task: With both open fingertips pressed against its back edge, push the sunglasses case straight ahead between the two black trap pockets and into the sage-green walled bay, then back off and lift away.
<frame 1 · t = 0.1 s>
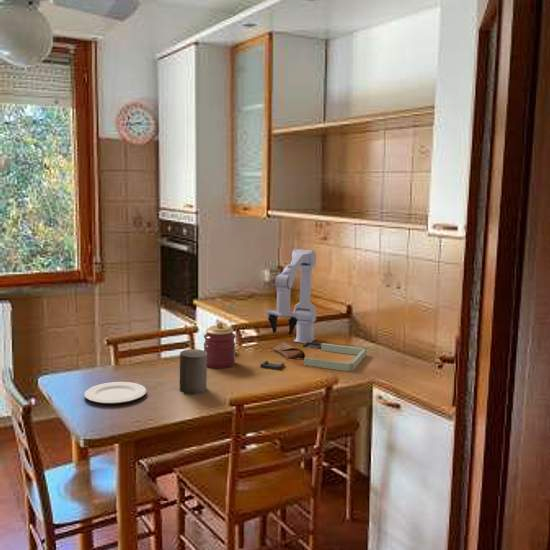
hand: (282, 333, 260), 10 cm above the table, tool pointing down, fingers open, 7 cm apart
rear trap pocket: (313, 346, 277), on the table
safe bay: (335, 360, 258), on the table
pillar candle: (193, 390, 219), on the table
front trap pocket: (272, 366, 247), on the table
sunglasses case: (286, 355, 266), on the table
canister: (219, 364, 249), on the table
plate: (115, 397, 210), on the table
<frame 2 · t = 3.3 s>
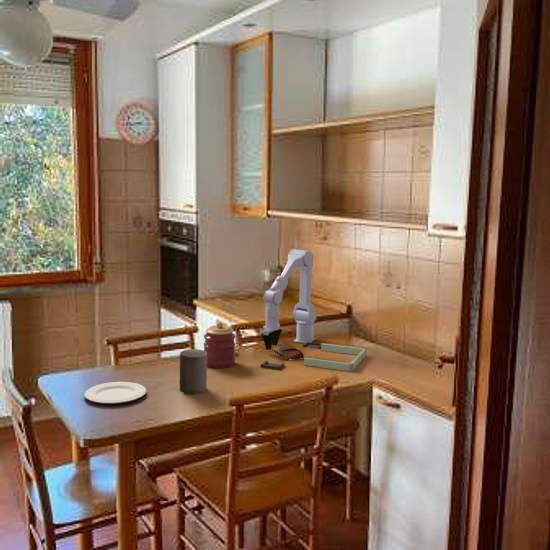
hand: (271, 347, 268), 2 cm above the table, tool pointing down, fingers open, 7 cm apart
sunglasses case: (285, 355, 265), on the table, touching gripper
everything else where it was.
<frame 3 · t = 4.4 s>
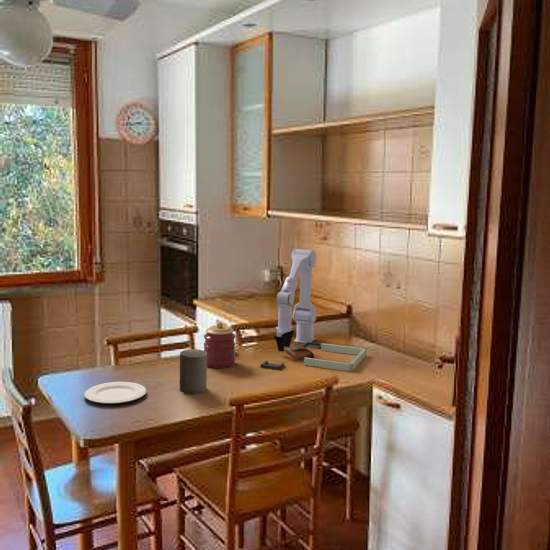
hand: (284, 348, 266), 2 cm above the table, tool pointing down, fingers open, 7 cm apart
sunglasses case: (297, 355, 265), on the table, touching gripper
everything else where it was.
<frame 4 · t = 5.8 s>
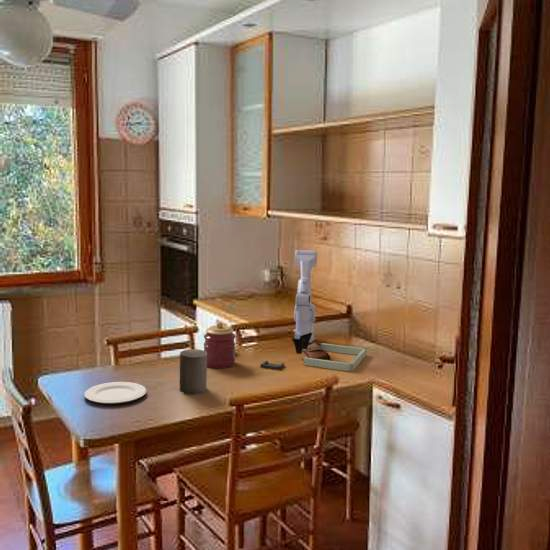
hand: (301, 351, 263), 2 cm above the table, tool pointing down, fingers open, 7 cm apart
sunglasses case: (314, 356, 265), on the table
everything else where it was.
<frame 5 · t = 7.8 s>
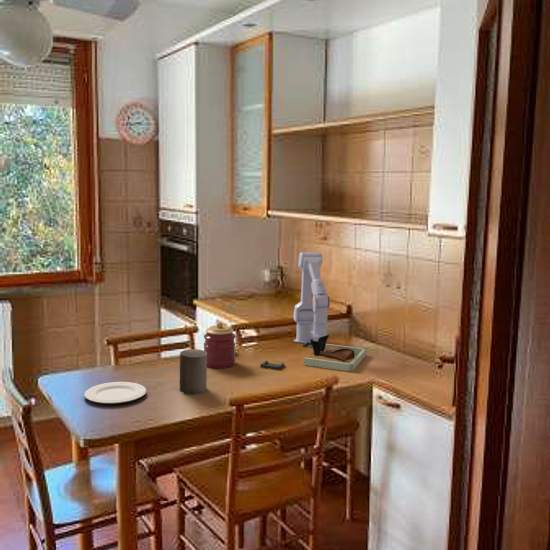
hand: (319, 353, 260), 2 cm above the table, tool pointing down, fingers open, 7 cm apart
sunglasses case: (331, 357, 265), on the table, touching gripper, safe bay
everything else where it was.
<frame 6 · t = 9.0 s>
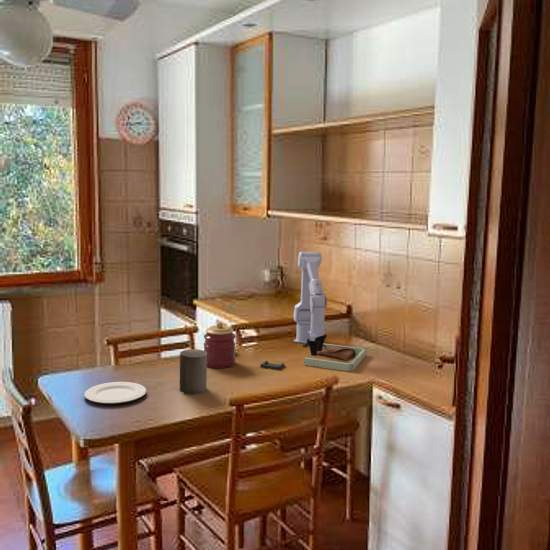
hand: (316, 353, 261), 2 cm above the table, tool pointing down, fingers open, 7 cm apart
sunglasses case: (333, 357, 265), on the table
everything else where it was.
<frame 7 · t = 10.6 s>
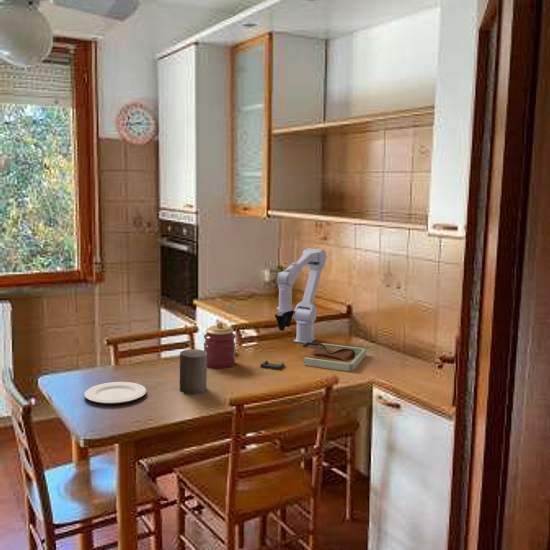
hand: (284, 328, 272), 9 cm above the table, tool pointing down, fingers open, 7 cm apart
nothing on the table moved.
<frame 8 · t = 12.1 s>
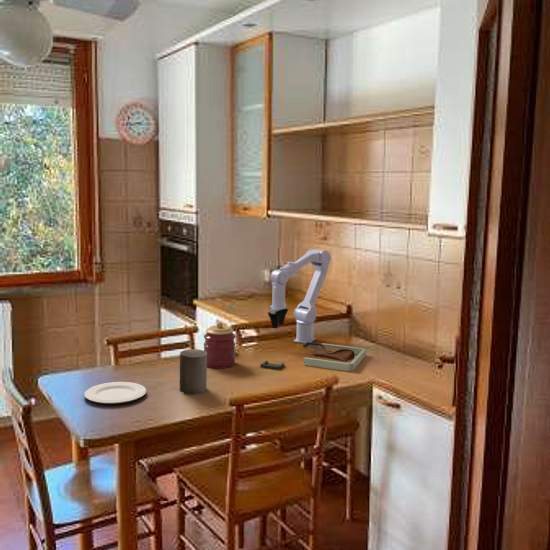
hand: (277, 326, 275), 9 cm above the table, tool pointing down, fingers open, 7 cm apart
at the end: sunglasses case inside the target area (5.1 cm from its centre), on the table; sunglasses case touching table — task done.
